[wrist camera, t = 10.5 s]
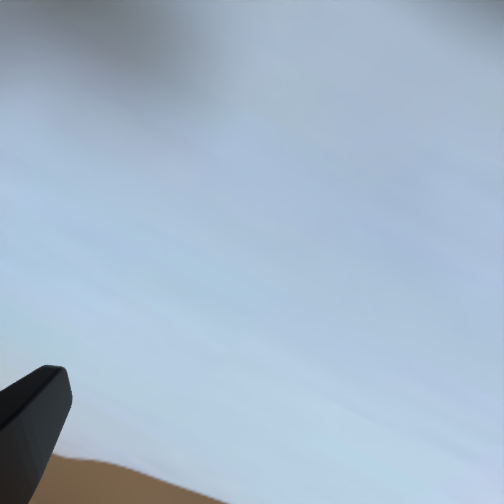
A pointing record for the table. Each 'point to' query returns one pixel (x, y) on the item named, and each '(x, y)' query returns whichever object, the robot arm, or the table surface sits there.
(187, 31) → the table surface
